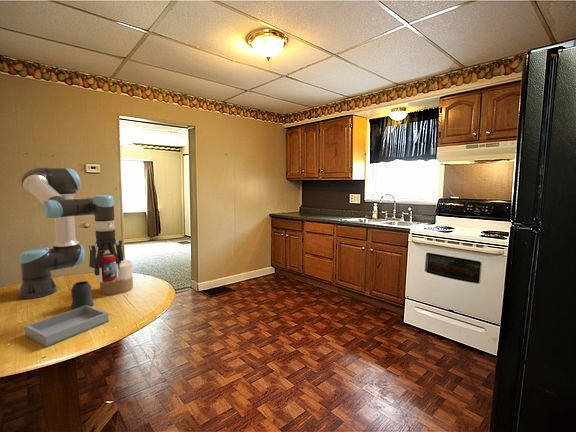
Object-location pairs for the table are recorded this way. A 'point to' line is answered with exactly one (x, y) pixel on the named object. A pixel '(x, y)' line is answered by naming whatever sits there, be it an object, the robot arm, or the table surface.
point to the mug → (81, 295)
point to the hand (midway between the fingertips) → (108, 279)
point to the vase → (119, 280)
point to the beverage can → (108, 267)
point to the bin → (66, 325)
